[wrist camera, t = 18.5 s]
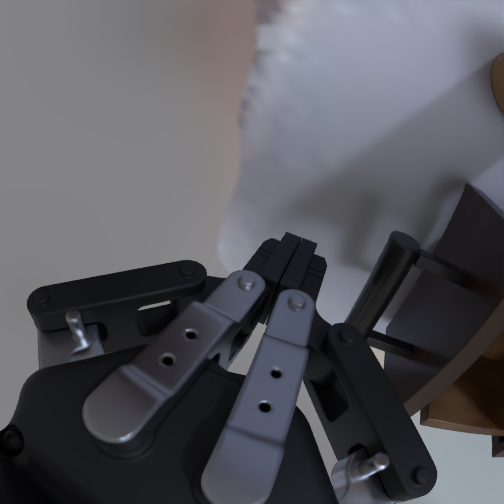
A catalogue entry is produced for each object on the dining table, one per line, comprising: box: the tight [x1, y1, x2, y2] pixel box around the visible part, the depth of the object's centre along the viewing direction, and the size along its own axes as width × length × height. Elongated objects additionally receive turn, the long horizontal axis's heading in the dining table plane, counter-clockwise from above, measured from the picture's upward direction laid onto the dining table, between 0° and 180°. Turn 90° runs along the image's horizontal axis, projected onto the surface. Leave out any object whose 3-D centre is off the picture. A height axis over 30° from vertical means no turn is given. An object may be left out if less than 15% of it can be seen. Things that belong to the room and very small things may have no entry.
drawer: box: [344, 183, 504, 436], centre depth 11 cm, size 18×11×8 cm, turn 79°
